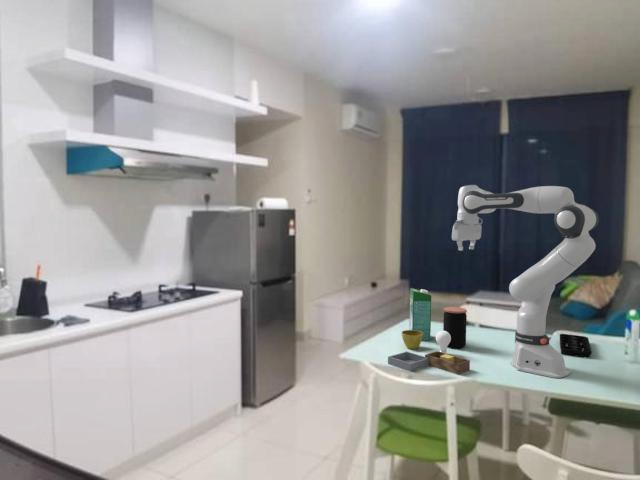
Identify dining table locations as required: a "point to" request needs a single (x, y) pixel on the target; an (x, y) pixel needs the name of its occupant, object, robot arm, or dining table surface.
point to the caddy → (448, 363)
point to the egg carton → (575, 345)
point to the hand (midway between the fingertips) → (466, 249)
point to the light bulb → (443, 340)
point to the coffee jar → (455, 326)
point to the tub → (408, 361)
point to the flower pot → (412, 338)
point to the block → (447, 358)
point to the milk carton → (420, 312)
